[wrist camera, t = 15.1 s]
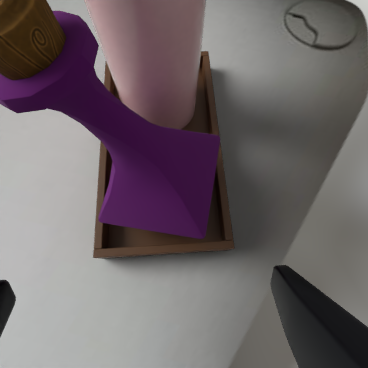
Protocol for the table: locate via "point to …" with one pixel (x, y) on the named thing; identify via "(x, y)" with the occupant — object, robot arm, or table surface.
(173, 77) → the pink cylinder
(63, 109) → the perfume bottle
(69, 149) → the table surface
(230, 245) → the tray
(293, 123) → the table surface
